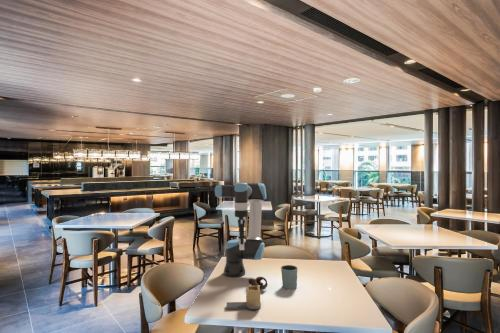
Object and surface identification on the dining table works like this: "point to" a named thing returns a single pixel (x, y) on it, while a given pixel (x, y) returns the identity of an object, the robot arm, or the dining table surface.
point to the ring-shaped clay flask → (258, 282)
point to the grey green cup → (289, 277)
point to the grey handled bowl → (241, 306)
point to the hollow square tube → (252, 296)
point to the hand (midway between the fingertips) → (241, 246)
